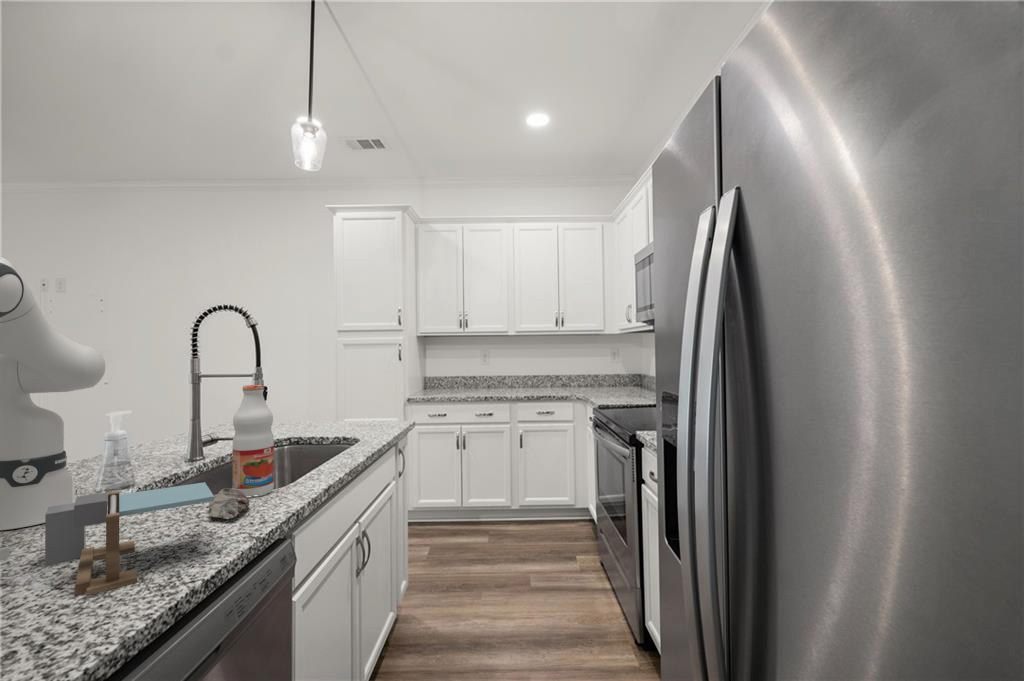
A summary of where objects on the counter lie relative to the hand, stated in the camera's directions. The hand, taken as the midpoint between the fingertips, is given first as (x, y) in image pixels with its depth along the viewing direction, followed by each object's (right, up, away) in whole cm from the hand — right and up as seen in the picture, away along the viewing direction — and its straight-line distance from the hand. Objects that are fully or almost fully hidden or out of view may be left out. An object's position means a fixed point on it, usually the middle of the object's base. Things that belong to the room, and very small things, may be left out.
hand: (4, 544), depth 78 cm
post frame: (+17, -5, +2) cm, 17 cm away
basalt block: (+5, -5, +6) cm, 9 cm away
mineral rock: (+21, -6, +28) cm, 35 cm away
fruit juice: (+18, -6, +43) cm, 47 cm away
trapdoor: (+20, +4, +5) cm, 21 cm away
